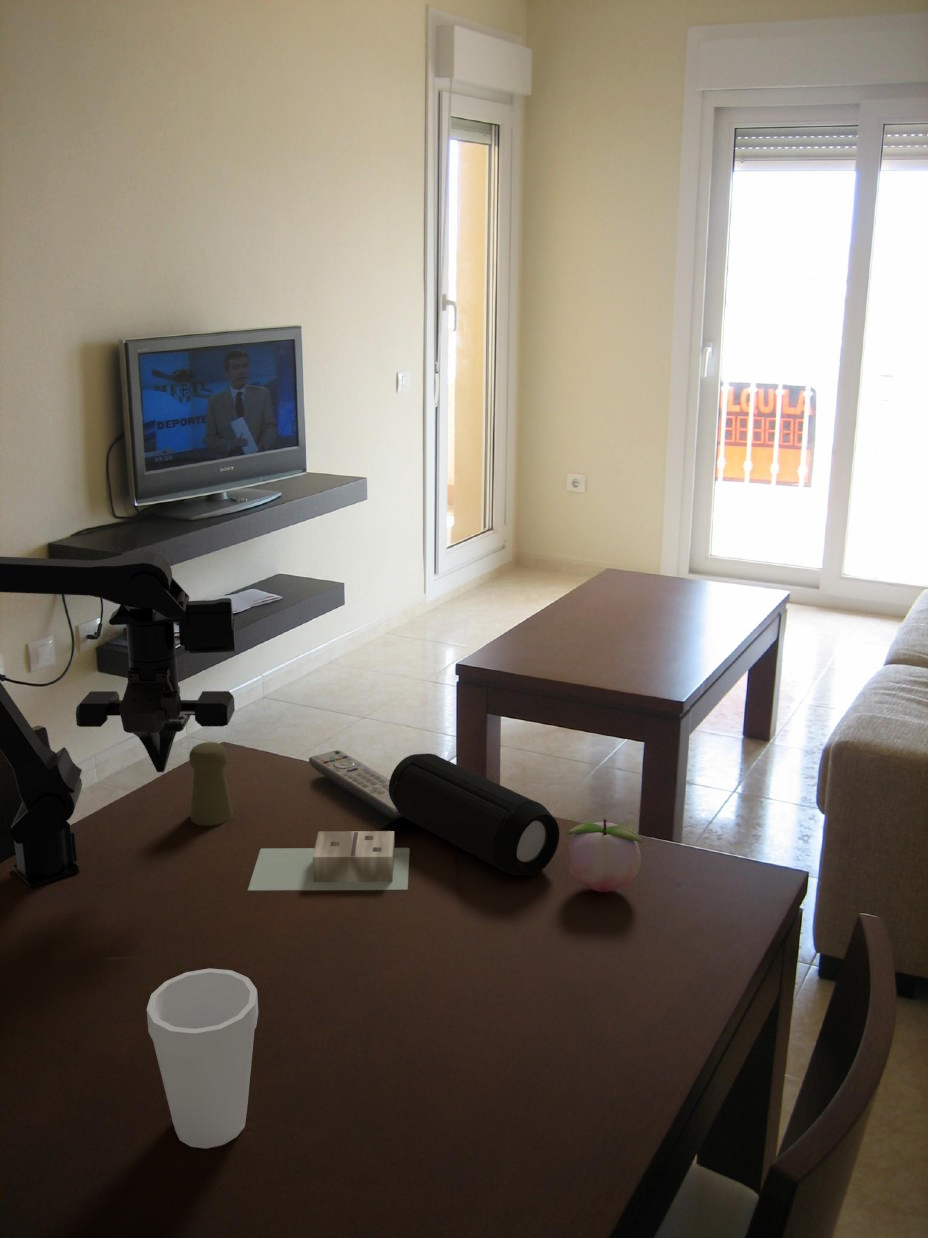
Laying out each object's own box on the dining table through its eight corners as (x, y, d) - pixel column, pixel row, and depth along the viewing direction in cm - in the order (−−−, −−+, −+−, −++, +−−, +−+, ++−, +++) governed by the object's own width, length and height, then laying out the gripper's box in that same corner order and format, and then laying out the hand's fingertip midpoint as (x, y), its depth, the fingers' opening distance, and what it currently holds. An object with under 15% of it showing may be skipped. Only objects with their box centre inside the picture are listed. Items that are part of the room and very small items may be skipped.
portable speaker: (563, 868, 150) (565, 798, 148) (508, 893, 144) (509, 821, 141) (437, 803, 169) (436, 740, 166) (383, 823, 162) (382, 758, 159)
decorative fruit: (637, 876, 148) (641, 805, 145) (640, 909, 140) (644, 835, 138) (564, 872, 149) (567, 802, 146) (563, 905, 141) (566, 831, 138)
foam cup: (167, 1090, 108) (158, 970, 105) (266, 1085, 109) (260, 966, 106) (149, 1164, 99) (138, 1036, 96) (257, 1158, 100) (250, 1031, 97)
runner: (247, 891, 144) (247, 890, 144) (260, 850, 154) (260, 848, 154) (407, 891, 144) (407, 889, 144) (409, 849, 155) (409, 848, 155)
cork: (223, 828, 160) (219, 755, 157) (183, 824, 161) (178, 752, 158) (240, 810, 166) (236, 739, 163) (200, 806, 167) (196, 735, 164)
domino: (312, 857, 145) (392, 856, 145) (318, 831, 151) (394, 831, 152) (313, 882, 146) (392, 881, 146) (319, 855, 152) (394, 855, 153)
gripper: (56, 677, 135) (68, 798, 139) (215, 676, 135) (222, 798, 140) (84, 647, 146) (94, 761, 150) (232, 647, 146) (238, 761, 150)
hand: (161, 771), depth 147 cm, fingers closed
